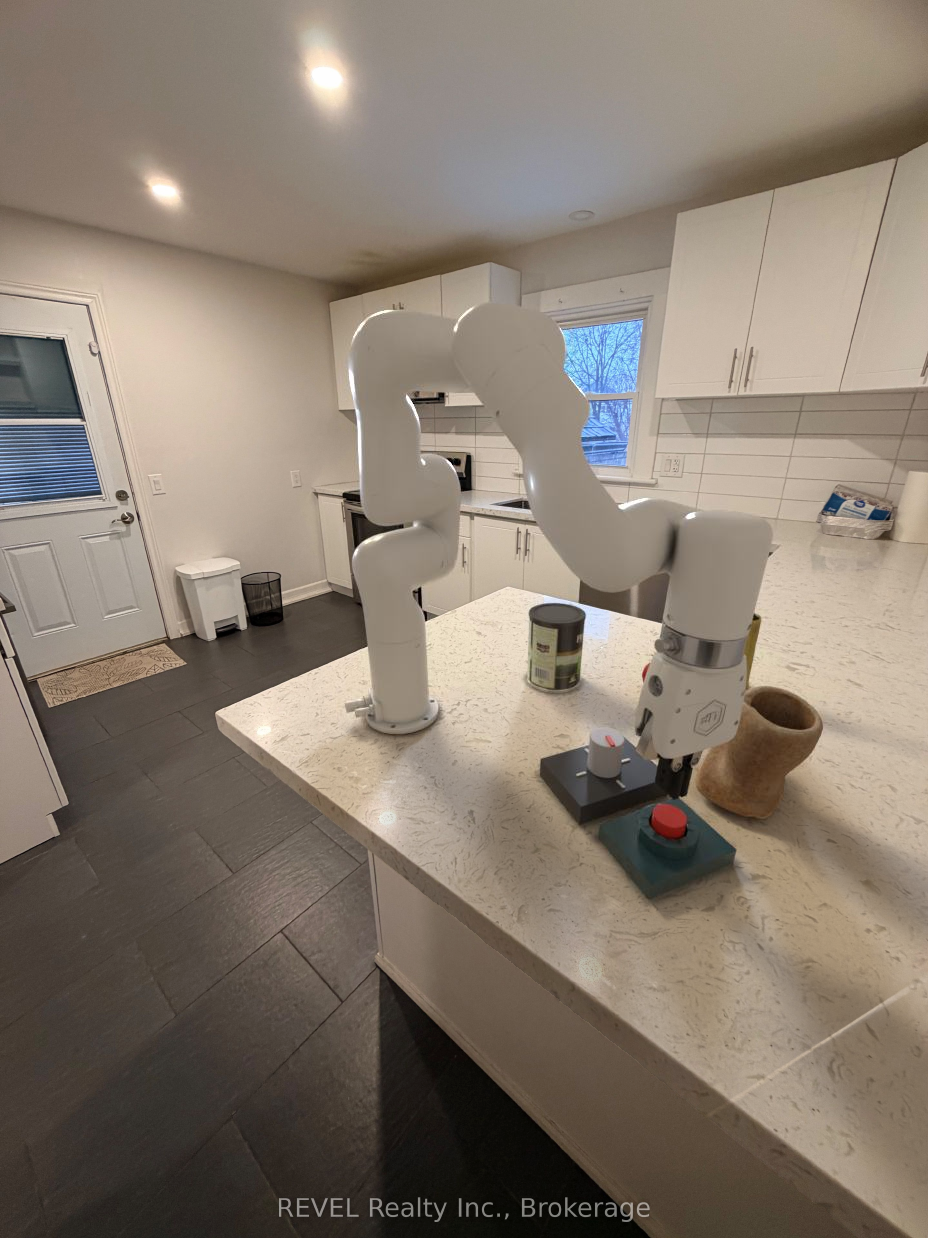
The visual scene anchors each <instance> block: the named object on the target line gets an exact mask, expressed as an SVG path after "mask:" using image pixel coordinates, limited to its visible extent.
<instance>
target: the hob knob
mask: <svg viewBox="0 0 928 1238" xmlns="http://www.w3.org/2000/svg"><path fill="white" fill-rule="evenodd" d="M588 745H589V750H588V761H587V767H588V769H589V770H590V772H592V773H593V774H594V775H596V776H599V777H603V778H612V777H615V776H617V775H618V774H619V773H620V770H621V762H622V755H623V747H624V735H623V734H622V733H621V732H620V731H618V730H616V729H614V728H611V727H604V726H603V727H596V728H593V729H592V730H591V731H590V733H589V740H588Z"/></svg>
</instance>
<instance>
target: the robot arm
mask: <svg viewBox="0 0 928 1238" xmlns="http://www.w3.org/2000/svg"><path fill="white" fill-rule="evenodd" d="M566 361H567V343H566V339H565V335H564V333H563V331H562V329H561V327H560V326H559V324H558V323H557V322H556V320H554V319H553V318H552V317H551V316H550V315H548V314H546V313H545V312H543V311H539V310H536V309H532V308H529V307H524V306H520V305H515V304H511V303H508V302H503V301H486V302H485V301H484V302H482V303H478V304H476V305H474V306H472V307H471V308H469V309H468V310H466V311H465V312H464V313H463V314H461V316H460V318H458V319H456V318H451V317H446V316H440V315H435V314H431V313H426V312H422V311H415V310H407V309H387V310H382V311H378V312H376V313H373V314H371V315H369V316H368V317H367V318H365V319H364V320H362V322H361V323H360V325H358V328H357V329H356V331H355V332H354V334H353V337H352V339H351V343H350V346H349V351H348V359H347V367H348V368H347V371H348V381H349V386H350V391H351V397H352V401H353V405H354V411H355V417H356V424H357V425H356V426H357V453H358V476H359V477H358V478H359V497H360V504H361V505H360V506H361V509H362V512H363V514H364V516H365V518H367V520H368V521H369V522H370V523H372V524H374V525H377V526H380V527H381V526H382V527H392V526H397V525H398V526H399V525H403V524H408V523H412V526H408V527H405V528H398V529H394V530H390V531H386V532H382V533H378V534H374V535H372V536H370V537H368V538H366V539H365V540H363V541H362V542H360V544H359V545H357V547H355V550H354V552H353V554H352V557H351V566H352V568H351V569H352V573H353V577H354V580H355V583H356V587H357V588H358V593H359V596H360V601H361V605H362V611H363V615H364V616H363V618H364V625H365V635H366V645H367V652H368V662H369V671H370V680H371V681H370V682H371V688H368V689H367V691H368V693H367V694H366V695H364V696H362V698H358V699H351V700H347V701H344V707H345V711H346V714H348V713H353V712H354V714H355V715H354V716H355V718H356V719H357V718H360V717H361V718H362V717H365V721H366V723H367V725H369V726H370V728H372V729H373V730H375V731H378V732H381V733H384V734H390V735H405V734H411V733H415V732H418V731H421V730H424V729H425V728H427V727H429V726H430V725H431V724H432V723H435V721H436V720H437V718H438V717H439V712H440V707H439V706H440V705H439V702H438V700H437V699H436V698H435V697H434V696H433V695H431V694H430V687H429V668H428V648H427V647H428V646H427V629H426V619H425V613H424V611H423V609H422V608H421V606H420V605H419V603H418V602H417V600H416V599H415V597H414V594H413V591H415V590H418V589H419V588H421V587H424V586H427V585H429V584H433V583H436V582H438V581H440V580H442V579H444V578H446V577H448V575H450V574H451V573H452V572H453V570H454V568H455V566H456V565H457V560H458V555H459V544H460V543H459V542H460V541H459V540H460V527H461V526H460V525H461V524H460V523H461V507H462V506H461V505H462V490H461V483H460V480H459V476H458V473H457V471H456V469H455V467H454V466H453V465H452V463H451V462H450V461H449V460H448V459H447V458H446V457H444V456H442V455H441V454H437V453H428V452H427V453H422V451H421V439H422V438H421V437H422V429H421V423H420V419H419V416H418V413H417V409H416V408H415V406H414V404H413V402H412V400H411V398H410V397H409V396H408V394H409V393H411V392H427V393H451V394H452V393H453V394H475V396H476V397H477V399H478V401H479V402H480V403H481V404H482V406H483V407H484V408H485V410H486V411H487V412H488V414H489V415H490V416H491V418H492V419H493V421H494V422H495V423H496V425H497V426H498V427H499V429H500V430H501V431H502V433H503V434H504V435H505V437H506V438H507V440H508V441H509V442H510V443H511V445H512V446H513V447H514V449H515V450H516V452H517V453H518V455H519V456H520V458H521V462H522V463H521V464H522V479H523V484H524V489H525V492H526V493H525V494H526V498H527V502H528V506H529V509H530V512H531V514H532V517H533V519H534V521H535V523H536V525H537V526H538V528H539V529H540V532H541V533H542V534H543V536H544V537H545V539H546V540H547V541H548V543H549V544H550V546H551V547H552V549H553V550H554V551H555V552H556V554H557V556H558V557H559V558H560V560H562V561H563V563H564V565H566V567H567V568H568V569H569V570H570V571H571V573H572V574H574V576H576V577H577V579H579V580H580V581H581V582H582V583H584V584H586V585H587V586H588V587H590V588H592V589H595V590H597V591H599V592H604V593H619V592H624V591H628V590H630V589H632V588H634V587H635V586H638V585H640V584H641V583H642V582H644V581H646V580H648V579H649V578H650V577H653V576H656V575H657V576H658V575H661V574H667V575H669V581H668V586H667V592H666V597H665V604H664V610H663V615H662V621H661V628H660V632H659V638H657V639H655V640H654V645H653V646H654V649H655V651H654V653H653V654H652V655H653V656H651V657H652V658H651V659H650V661H649V663H650V665H649V668H648V670H647V673H646V676H645V680H644V683H643V682H642V687H641V690H640V694H639V698H638V702H637V707H636V712H635V722H634V733H635V735H636V736H637V737H640V738H639V740H638V743H637V745H636V753H637V754H638V755H639V756H640V757H642V758H643V759H644V760H651V761H656V760H658V762H657V772H656V777H655V782H656V784H657V785H658V786H659V787H660V788H661V789H662V790H663V791H664V792H666V793H667V795H668V797H670V798H671V799H673V800H676V799H678V798H684V797H687V796H688V793H689V792H688V791H689V787H690V783H691V780H692V779H691V778H692V775H693V770H694V768H693V767H696V766H697V764H699V762H700V760H701V757H702V754H703V751H705V750H709V749H710V748H711V747H714V746H718V745H721V744H723V743H726V742H728V741H730V740H731V739H733V738H734V737H735V735H736V732H737V729H738V726H739V722H740V717H741V712H742V707H743V702H744V695H745V688H746V678H747V660H746V656H745V654H744V652H745V648H746V644H747V640H748V636H749V632H750V627H751V623H752V619H753V615H754V613H755V610H756V608H757V607H756V606H757V604H758V603H757V602H758V599H759V595H760V591H761V586H762V583H763V579H764V574H765V571H766V567H767V564H768V558H769V555H770V551H771V548H772V547H771V546H772V542H773V537H774V533H773V528H772V525H771V524H770V522H769V521H767V519H765V518H763V517H761V516H759V515H756V514H752V513H749V512H743V511H735V510H723V509H721V510H720V509H707V510H705V509H701V508H697V507H694V506H693V507H692V506H689V505H685V504H681V503H678V502H675V501H672V500H668V499H664V498H656V497H647V498H645V497H644V498H640V499H637V500H634V501H630V502H626V503H623V504H620V505H619V504H618V503H617V501H616V500H615V499H614V498H613V497H612V495H611V494H610V493H609V492H608V490H607V489H606V487H605V486H604V485H603V483H602V482H601V481H600V479H599V478H598V476H597V475H596V474H595V472H594V470H593V469H592V467H591V465H590V463H589V461H588V458H587V456H586V454H585V451H584V447H583V442H582V441H583V440H582V433H583V430H584V428H585V426H586V424H587V423H588V420H589V418H590V414H591V406H590V402H589V399H588V398H587V397H586V395H585V394H584V392H583V391H582V390H581V389H580V388H579V386H578V385H577V384H576V383H575V381H574V380H573V379H572V378H571V376H570V375H569V374H568V373H567V372H566V371H565V369H564V368H565V363H566Z"/></svg>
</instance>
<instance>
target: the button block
mask: <svg viewBox="0 0 928 1238" xmlns="http://www.w3.org/2000/svg"><path fill="white" fill-rule="evenodd" d="M660 804H668V805H672V806H675V807H677V808H679V809H680V810H681V811H682V812H683V813H684V814H685V815H686V818H687V823H686V828H685V833H684V835H683V836H682V837H681V838H679V839H668V838H665V837H663V836H661V835H659V834H657V833H656V832H655V831H654V829H653V828H652V825H651V820H652V814H653V809H654V808H655V807H656V806H657V805H660ZM597 838H598V839H599V841H600V842H601V843H602V844H603V846H604V847H605V848H606V849H607V851H608V852H609V853H610V854H611V855H612V857H613V858H614V859H615V860H616V862H617V863H618V864H619V865H620V867H622V869H623V870H624V872H625V873H626V874H627V875H628V876H629V878H630V879H631V880H632V881H633V882H634V884H635V885H636V886H637V888H638V889H639V890H640V891H641V892H642V893H643V895H644V896H645V897H646V899H648V900H651V899H653V898H655V897H658V896H661V895H663V894H665V893H668V892H670V891H672V890H675V889H677V888H679V887H681V886H684V885H686V884H688V883H691V882H693V881H696V880H698V879H700V878H703V877H705V876H707V875H710V874H713V873H714V872H717V871H719V870H721V869H724V868H726V867H729V866H731V865H733V864H734V861H735V857H736V854H737V848H736V847H734V845H733V844H731V843H730V842H729V841H728V840H727V839H725V837H724V836H722V835H721V834H720V833H719V832H718V831H717V830H715V828H714V827H713V826H711V825H710V824H709V823H708V822H706V821H705V819H703V818H702V817H701V816H700V815H699V814H698V813H697V812H695V811H694V810H693V809H692V808H691V807H690V806H689V805H688V804H687V803H685V802H684V800H682V799H681V797H679V798H678V799H676V800H673V799H672V798H671V799H667V800H665V801H662V802H659V803H652V804H649V805H646V806H644V807H642V808H641V809H639V810H636V811H633V812H630V813H627V814H624V815H622V816H619V817H616V818H613V819H611V820H608V821H604V822H602V823H599V825H598V834H597Z"/></svg>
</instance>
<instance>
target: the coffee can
mask: <svg viewBox="0 0 928 1238" xmlns="http://www.w3.org/2000/svg"><path fill="white" fill-rule="evenodd" d="M586 618H587V613H586V612H585V610H583V609H582V608H580V607H578V606H576V605H573V604H568V603H561V602H549V603H546V602H545V603H541V604H537V605H534V606H532V607H530V609H528V644H527V646H528V647H527V674H526V681H527V683H528V684H529V685H530V686H531V687H532V688H534V689H536V690H538V691H541V692H545V693H550V694H551V693H552V694H563V693H569V692H571V691H574V690H576V689H577V688H578V687H579V686H580V684H581V670H582V659H583V658H582V656H583V648H584V647H583V645H584V633H585V631H584V630H585V621H586Z"/></svg>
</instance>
